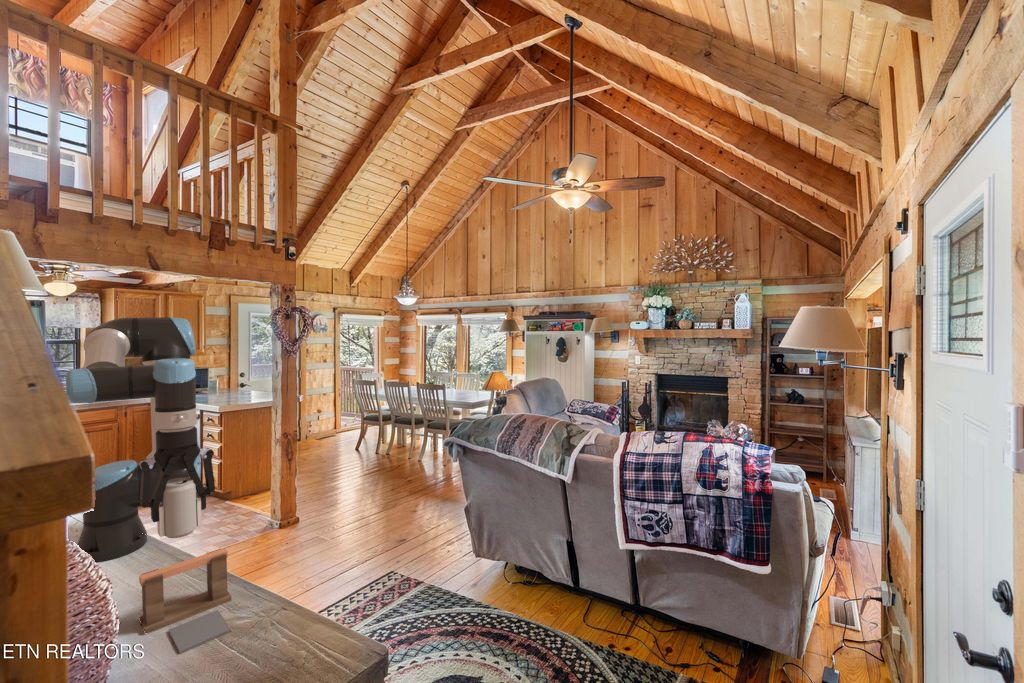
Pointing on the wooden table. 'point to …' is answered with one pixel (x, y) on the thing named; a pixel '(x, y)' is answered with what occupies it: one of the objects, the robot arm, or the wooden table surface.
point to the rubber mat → (199, 631)
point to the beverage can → (179, 507)
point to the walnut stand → (164, 616)
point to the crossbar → (182, 566)
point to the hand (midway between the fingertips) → (180, 529)
